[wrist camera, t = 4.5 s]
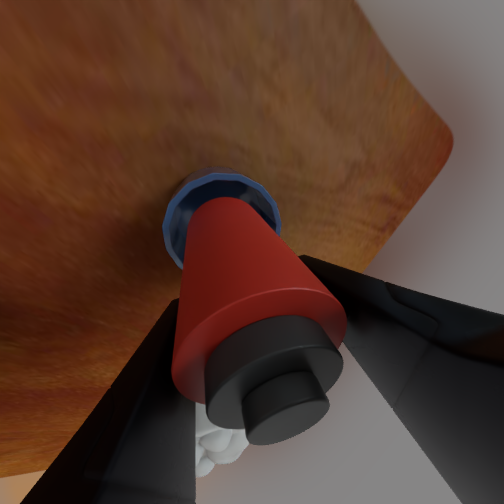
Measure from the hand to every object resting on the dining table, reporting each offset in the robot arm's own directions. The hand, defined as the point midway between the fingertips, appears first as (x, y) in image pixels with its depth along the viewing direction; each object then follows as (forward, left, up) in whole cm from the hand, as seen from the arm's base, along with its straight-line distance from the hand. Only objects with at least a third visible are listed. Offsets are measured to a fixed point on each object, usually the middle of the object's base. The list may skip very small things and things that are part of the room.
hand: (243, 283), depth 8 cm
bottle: (0, 0, -6) cm, 6 cm away
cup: (0, 0, -10) cm, 10 cm away
